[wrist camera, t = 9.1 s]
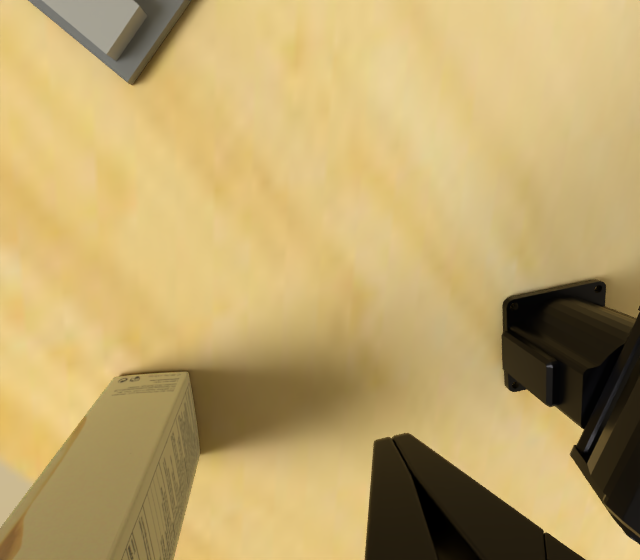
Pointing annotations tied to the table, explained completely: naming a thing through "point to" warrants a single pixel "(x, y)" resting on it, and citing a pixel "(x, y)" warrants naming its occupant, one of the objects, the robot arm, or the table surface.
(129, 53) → the console
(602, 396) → the robot arm
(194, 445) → the skincare box
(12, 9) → the table surface
